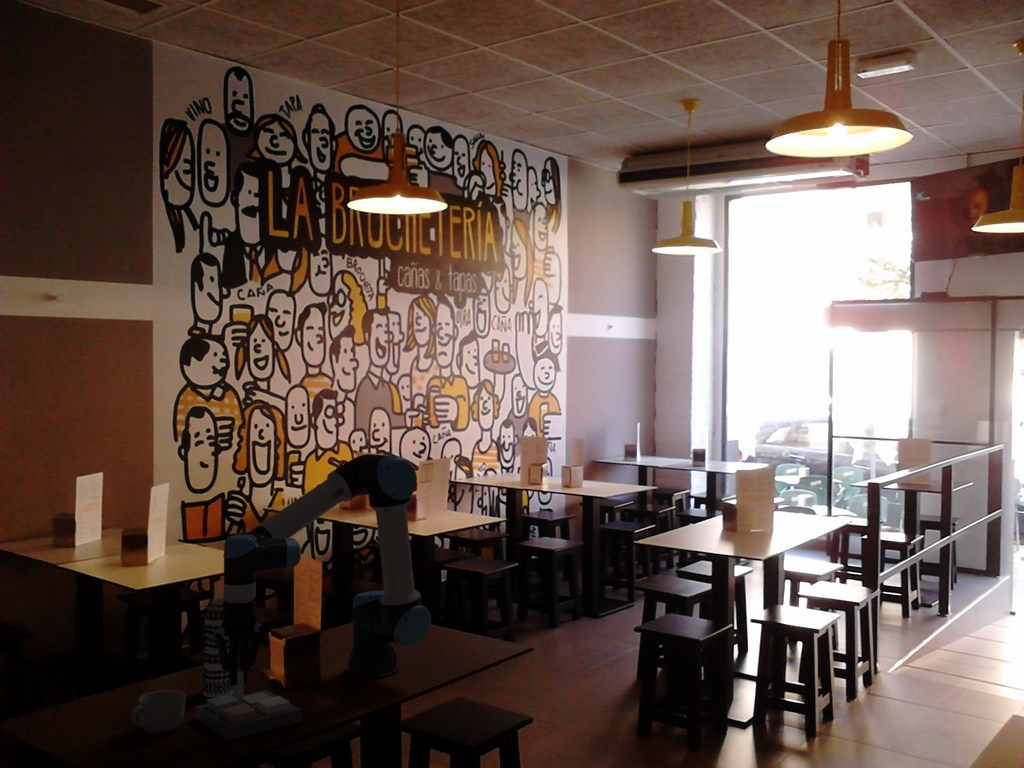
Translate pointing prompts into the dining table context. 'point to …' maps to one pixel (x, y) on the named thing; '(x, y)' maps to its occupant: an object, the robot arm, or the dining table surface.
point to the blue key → (221, 703)
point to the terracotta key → (238, 714)
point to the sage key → (254, 698)
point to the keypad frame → (248, 726)
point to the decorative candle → (214, 653)
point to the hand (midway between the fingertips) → (237, 697)
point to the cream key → (272, 705)
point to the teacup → (159, 711)
